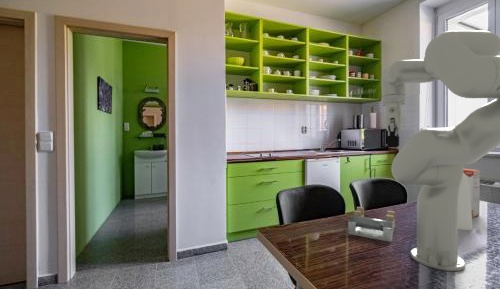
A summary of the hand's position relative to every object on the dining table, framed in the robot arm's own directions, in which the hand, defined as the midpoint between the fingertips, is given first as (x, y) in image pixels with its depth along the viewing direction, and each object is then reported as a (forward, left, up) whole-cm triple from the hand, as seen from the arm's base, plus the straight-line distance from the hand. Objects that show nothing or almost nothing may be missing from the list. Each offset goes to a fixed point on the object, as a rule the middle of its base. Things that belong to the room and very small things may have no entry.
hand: (393, 146), depth 94 cm
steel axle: (-6, +7, -30) cm, 32 cm away
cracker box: (+44, -24, -32) cm, 60 cm away
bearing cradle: (+4, +7, -32) cm, 33 cm away
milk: (+22, -18, -33) cm, 43 cm away
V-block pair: (-6, +7, -32) cm, 34 cm away
